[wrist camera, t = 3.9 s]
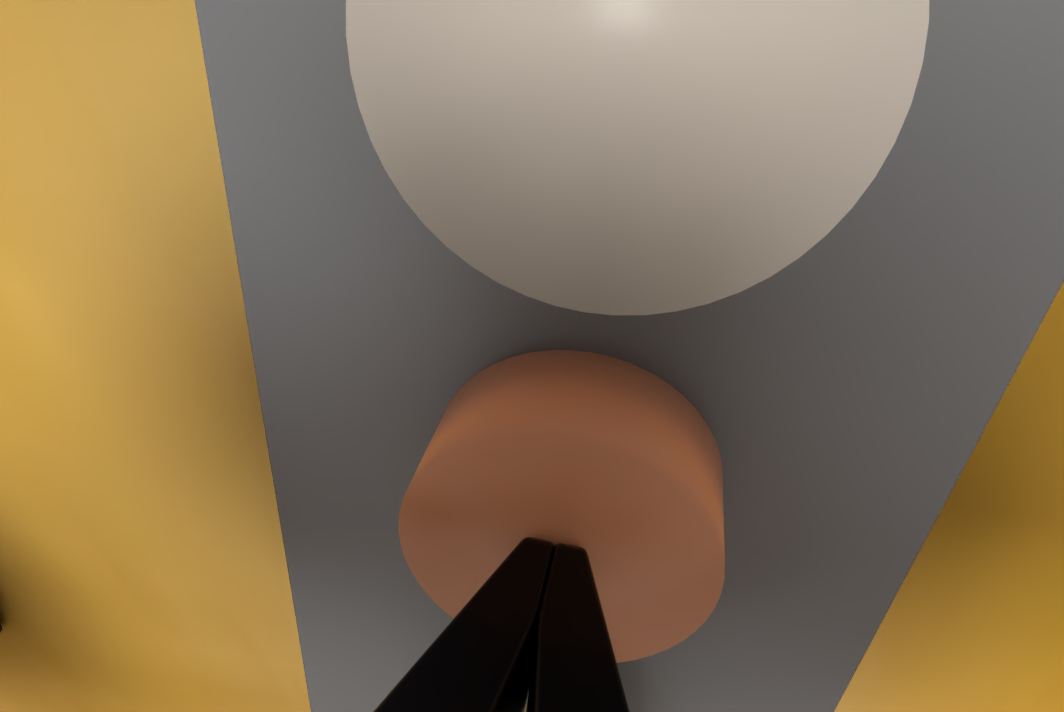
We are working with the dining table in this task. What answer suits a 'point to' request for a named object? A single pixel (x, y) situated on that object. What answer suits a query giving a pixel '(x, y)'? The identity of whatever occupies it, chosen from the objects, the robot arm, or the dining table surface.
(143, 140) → the dining table surface
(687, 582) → the button terracotta
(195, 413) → the dining table surface
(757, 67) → the button offwhite
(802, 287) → the button panel
